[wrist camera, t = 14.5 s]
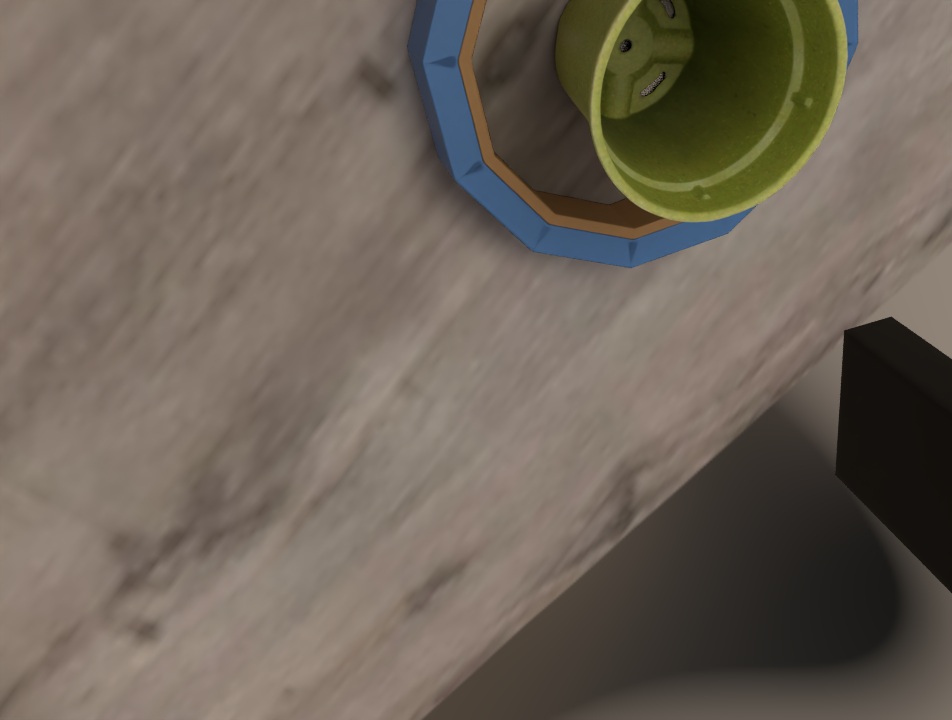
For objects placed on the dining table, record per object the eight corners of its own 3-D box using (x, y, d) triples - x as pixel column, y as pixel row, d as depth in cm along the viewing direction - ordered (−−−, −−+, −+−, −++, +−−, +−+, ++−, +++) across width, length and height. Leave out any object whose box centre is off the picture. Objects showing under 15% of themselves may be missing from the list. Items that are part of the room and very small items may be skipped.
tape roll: (655, -337, 31) (695, -352, 29) (883, 27, 40) (928, 40, 38) (321, 50, 35) (330, 67, 32) (599, 307, 44) (623, 335, 41)
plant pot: (641, -141, 34) (758, -135, 27) (765, 38, 39) (893, 85, 32) (468, 44, 36) (534, 96, 29) (607, 194, 41) (694, 272, 34)
